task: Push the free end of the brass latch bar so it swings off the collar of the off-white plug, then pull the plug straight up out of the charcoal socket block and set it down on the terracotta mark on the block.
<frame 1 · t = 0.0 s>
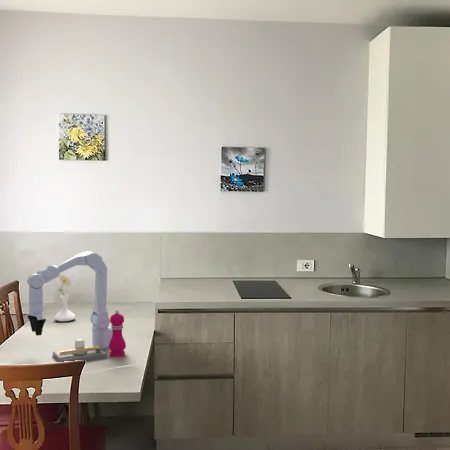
hand: (36, 333, 244), 10 cm above the table, tool pointing down, fingers open, 7 cm apart
plug: (79, 357, 241), point 1 cm above the table, touching socket block
pepper mill: (117, 356, 245), on the table
flower in vase: (64, 320, 312), on the table
socket block: (79, 358, 241), on the table
latch bar: (80, 350, 238), point 4 cm above the table, hinge at 0.0°
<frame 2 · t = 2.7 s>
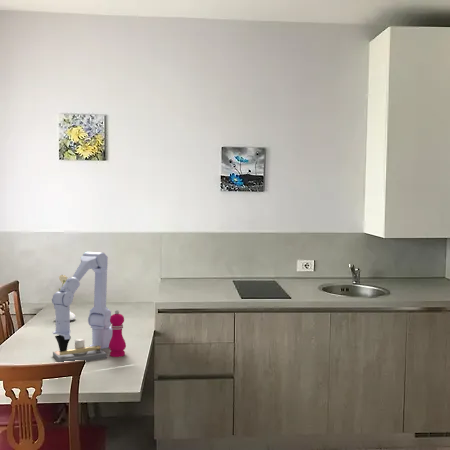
hand: (63, 352, 236), 4 cm above the table, tool pointing down, fingers closed, pressing on latch bar
latch bar: (80, 350, 238), point 4 cm above the table, hinge at 0.0°, touching gripper
everything else where it was.
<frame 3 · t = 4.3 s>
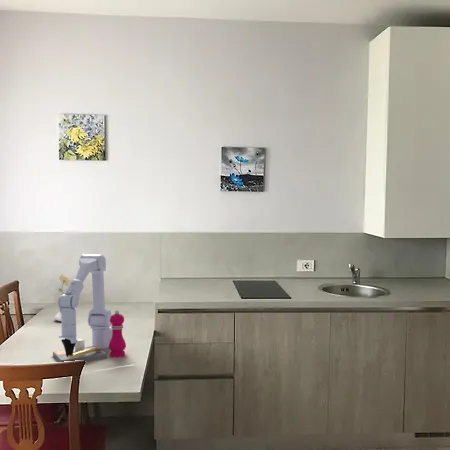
hand: (69, 356, 231), 4 cm above the table, tool pointing down, fingers closed
latch bar: (85, 352, 236), point 4 cm above the table, hinge at 27.7°, touching gripper
everything else where it was.
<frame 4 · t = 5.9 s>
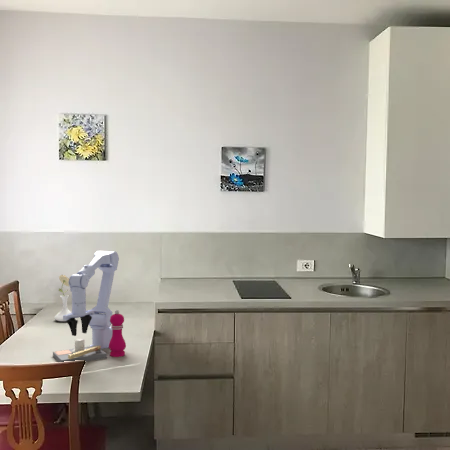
hand: (79, 334, 241), 10 cm above the table, tool pointing down, fingers open, 5 cm apart
latch bar: (85, 352, 236), point 4 cm above the table, hinge at 27.9°
everything else where it was.
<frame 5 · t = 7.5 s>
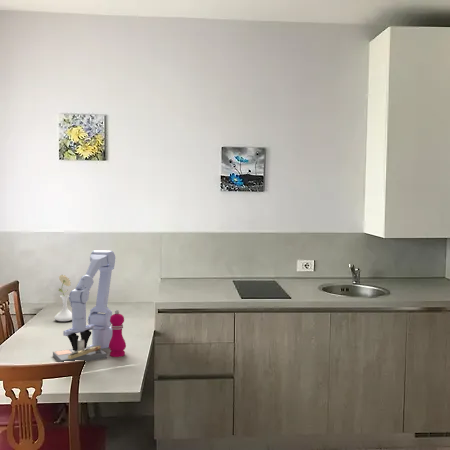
hand: (79, 349, 241), 4 cm above the table, tool pointing down, fingers closed on plug, 4 cm apart
plug: (79, 357, 241), point 1 cm above the table, touching gripper, socket block
everything else where it was.
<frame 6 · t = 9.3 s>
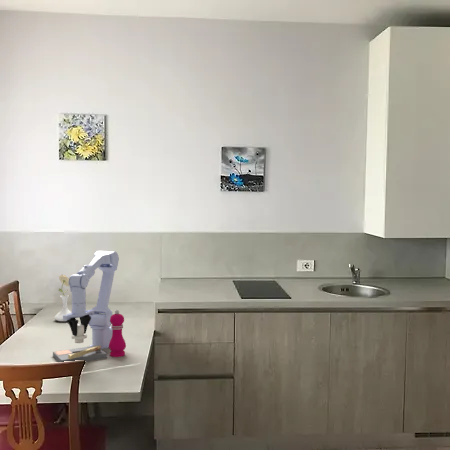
hand: (79, 334, 241), 10 cm above the table, tool pointing down, fingers closed on plug, 4 cm apart
plug: (79, 342, 241), point 7 cm above the table, touching gripper
everything else where it was.
when the fingers open (7 cm above the table, at t = 11.0 s): plug drops 1 cm, resting on socket block.
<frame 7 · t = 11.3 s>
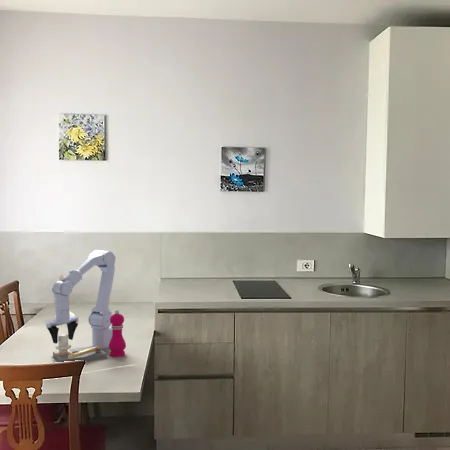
hand: (63, 341, 241), 7 cm above the table, tool pointing down, fingers open, 7 cm apart
plug: (63, 352, 241), point 3 cm above the table, touching socket block
everything else where it was.
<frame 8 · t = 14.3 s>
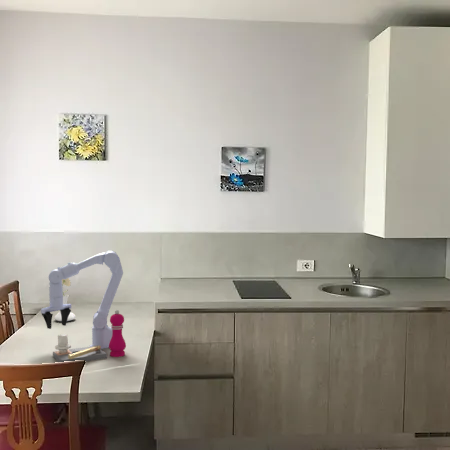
hand: (56, 326, 254), 10 cm above the table, tool pointing down, fingers open, 7 cm apart
nothing on the table moved.
at the end: latch bar at +28° (first picture: +0°); plug 0.1 cm from the target spot on the socket block, point 2.6 cm above the socket block's base; plug tilted 1° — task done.
